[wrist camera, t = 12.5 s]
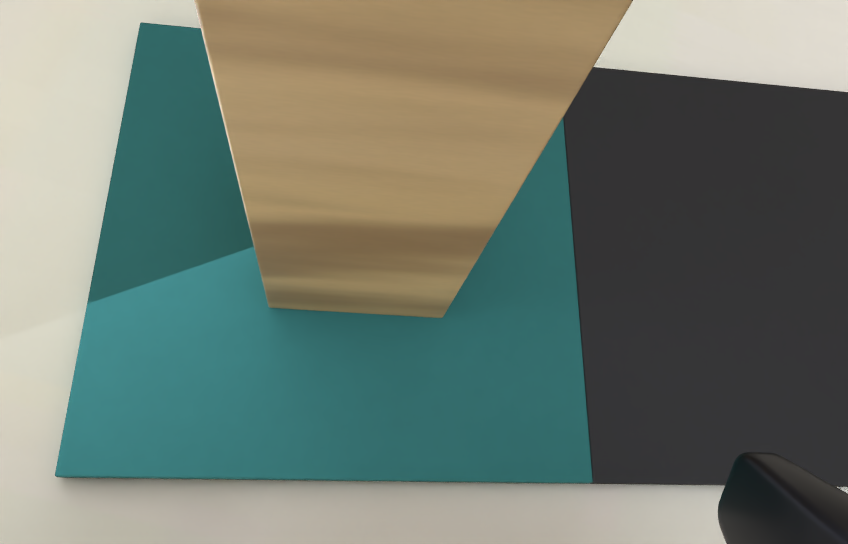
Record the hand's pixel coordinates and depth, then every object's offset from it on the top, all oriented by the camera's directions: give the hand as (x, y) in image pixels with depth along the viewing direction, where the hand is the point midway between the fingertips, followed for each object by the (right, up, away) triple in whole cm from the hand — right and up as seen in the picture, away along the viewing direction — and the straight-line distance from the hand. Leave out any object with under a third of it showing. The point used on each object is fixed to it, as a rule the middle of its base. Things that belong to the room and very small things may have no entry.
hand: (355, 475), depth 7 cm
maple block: (-1, +3, +13) cm, 13 cm away
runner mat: (+6, +3, +14) cm, 16 cm away
